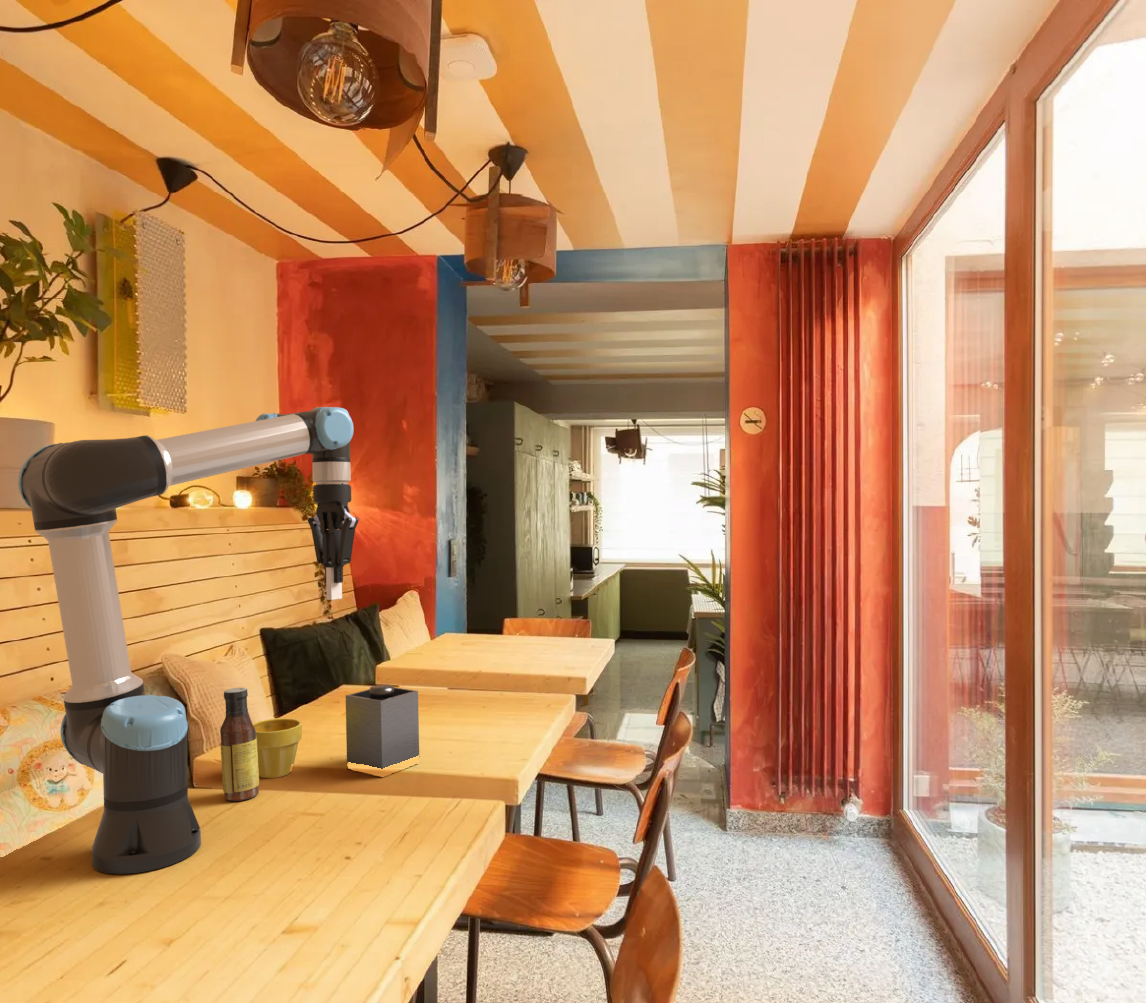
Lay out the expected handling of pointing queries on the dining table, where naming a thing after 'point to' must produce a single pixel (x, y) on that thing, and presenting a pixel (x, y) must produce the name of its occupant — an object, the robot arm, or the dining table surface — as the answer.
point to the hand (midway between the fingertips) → (334, 598)
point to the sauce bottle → (238, 748)
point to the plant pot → (277, 745)
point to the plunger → (381, 692)
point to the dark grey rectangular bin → (382, 728)
